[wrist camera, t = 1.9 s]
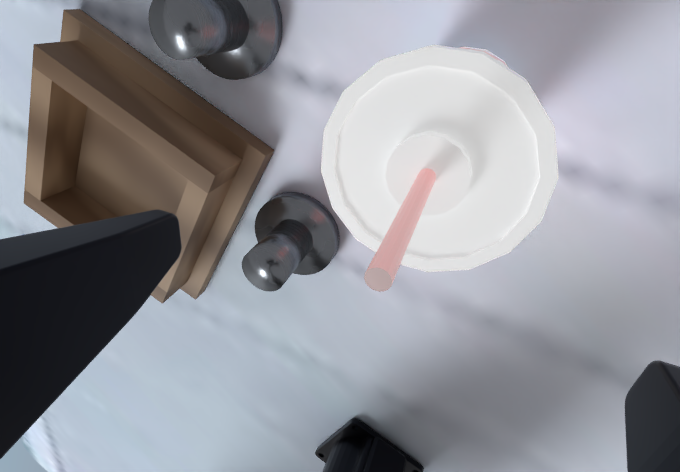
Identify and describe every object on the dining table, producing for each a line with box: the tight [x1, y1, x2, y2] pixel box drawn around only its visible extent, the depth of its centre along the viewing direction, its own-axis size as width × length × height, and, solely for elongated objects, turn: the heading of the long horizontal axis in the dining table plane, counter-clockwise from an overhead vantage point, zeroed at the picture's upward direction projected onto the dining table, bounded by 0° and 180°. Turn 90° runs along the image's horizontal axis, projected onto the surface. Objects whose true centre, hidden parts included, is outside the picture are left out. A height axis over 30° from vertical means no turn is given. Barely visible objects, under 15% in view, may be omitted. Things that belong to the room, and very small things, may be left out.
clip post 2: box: [242, 192, 339, 291], centre depth 23 cm, size 5×5×4 cm
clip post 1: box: [149, 0, 282, 80], centre depth 18 cm, size 5×5×4 cm
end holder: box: [24, 9, 274, 303], centre depth 25 cm, size 13×13×4 cm
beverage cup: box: [321, 45, 559, 291], centre depth 13 cm, size 6×6×14 cm
